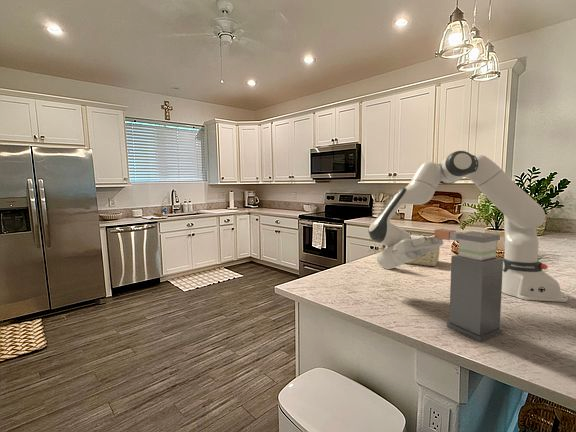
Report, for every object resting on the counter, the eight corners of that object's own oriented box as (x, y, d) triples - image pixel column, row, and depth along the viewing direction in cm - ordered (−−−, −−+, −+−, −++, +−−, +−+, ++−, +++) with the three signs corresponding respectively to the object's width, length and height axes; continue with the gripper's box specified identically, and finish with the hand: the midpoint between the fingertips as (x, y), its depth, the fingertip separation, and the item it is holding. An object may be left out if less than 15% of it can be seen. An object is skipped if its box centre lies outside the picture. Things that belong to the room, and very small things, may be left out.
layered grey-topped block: (496, 309, 94) (500, 234, 92) (479, 314, 91) (483, 237, 88) (444, 291, 111) (446, 227, 108) (428, 295, 107) (429, 229, 105)
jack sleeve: (502, 333, 95) (506, 258, 92) (480, 342, 90) (483, 263, 87) (468, 319, 105) (470, 251, 102) (446, 326, 100) (449, 255, 97)
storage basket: (392, 262, 181) (392, 238, 179) (399, 256, 194) (400, 233, 192) (436, 268, 167) (436, 241, 165) (441, 261, 180) (441, 237, 178)
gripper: (385, 245, 116) (410, 231, 104) (422, 239, 125) (449, 227, 113) (390, 261, 114) (417, 249, 102) (428, 254, 123) (457, 242, 111)
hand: (434, 237), depth 108 cm, fingers open, 8 cm apart
